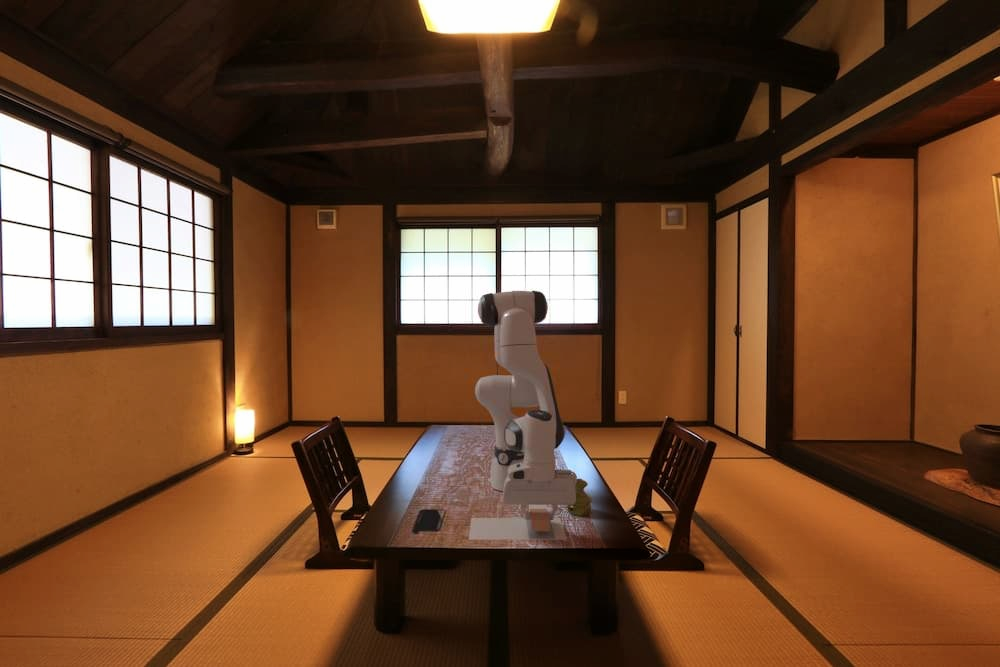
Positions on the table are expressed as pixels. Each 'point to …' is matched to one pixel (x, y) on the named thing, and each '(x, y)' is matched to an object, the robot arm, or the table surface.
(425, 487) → the table surface
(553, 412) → the robot arm
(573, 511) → the olive green vase
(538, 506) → the two-tone tall block
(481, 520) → the mat
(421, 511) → the phone
